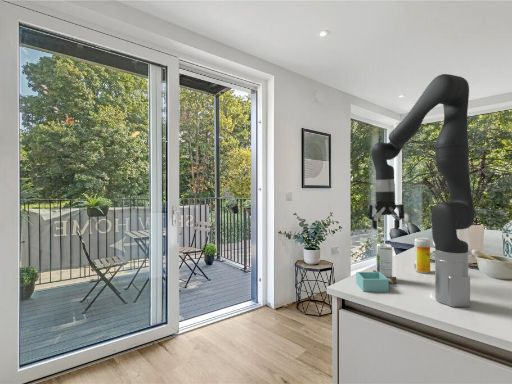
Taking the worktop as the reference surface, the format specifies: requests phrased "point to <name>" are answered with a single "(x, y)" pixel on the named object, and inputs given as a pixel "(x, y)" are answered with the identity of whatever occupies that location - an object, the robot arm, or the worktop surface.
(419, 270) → the glass of beer
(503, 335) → the worktop surface
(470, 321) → the worktop surface
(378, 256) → the syrup box
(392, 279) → the mount rails
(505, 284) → the worktop surface
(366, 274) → the teal square tray
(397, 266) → the worktop surface
